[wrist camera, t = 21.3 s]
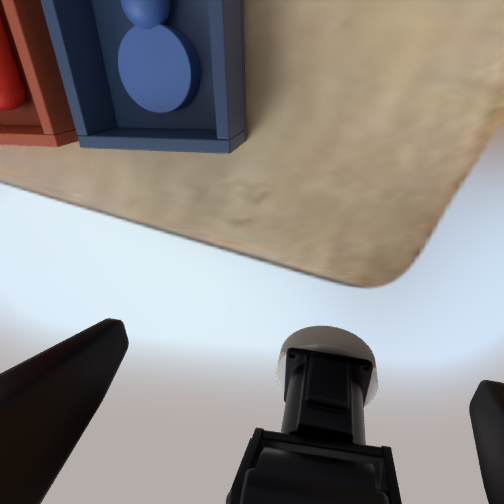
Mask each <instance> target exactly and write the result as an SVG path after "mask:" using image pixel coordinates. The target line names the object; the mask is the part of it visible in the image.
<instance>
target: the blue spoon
mask: <svg viewBox="0 0 504 504" xmlns="http://www.w3.org/2000/svg"><path fill="white" fill-rule="evenodd" d="M120 1H121V5H122V8H123V10H124V12H125V14H126V16H127V17H128V19H129V20H130V21H131V22H132V23H133V24H134V25H135V26H133V27H132V28H131V29H129V31H128V32H127V33H126V34H125V36H124V37H123V39H122V41H121V44H120V47H119V52H118V69H119V74H120V78H121V80H122V83H123V85H124V87H125V89H126V91H127V93H128V94H129V95H130V97H131V98H132V99H133V100H134V101H135V102H136V103H137V104H138V105H140V106H141V107H142V108H144V109H146V110H148V111H151V112H154V113H168V112H172V111H175V110H179V109H181V108H183V107H185V106H187V105H188V104H189V103H190V102H191V101H192V100H193V98H194V97H195V95H196V93H197V91H198V88H199V84H200V76H201V72H200V63H199V59H198V56H197V53H196V51H195V49H194V47H193V45H192V43H191V42H190V41H189V39H188V38H187V37H186V36H185V35H184V34H183V33H182V32H180V31H179V30H178V29H176V28H174V27H172V26H169V25H165V23H166V21H167V19H168V17H169V13H170V0H120Z"/></svg>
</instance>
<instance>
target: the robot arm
mask: <svg viewBox="0 0 504 504" xmlns="http://www.w3.org/2000/svg"><path fill="white" fill-rule="evenodd" d="M128 344H129V342H128V337H127V334H126V330H125V327H124V324H123V322H122V321H121V320H117V319H111V318H108V319H105V320H103V321H101V322H99V323H97V324H95V325H93V326H91V327H89V328H87V329H86V330H84V331H82V332H80V333H78V334H76V335H74V336H72V337H70V338H68V339H66V340H65V341H62V342H61V343H59V344H57V345H55V346H53V347H51V348H49V349H47V350H45V351H43V352H41V353H39V354H37V355H36V356H34V357H32V358H30V359H28V360H26V361H24V362H22V363H20V364H18V365H16V366H14V367H12V368H10V369H9V370H6V371H5V372H3V373H1V374H0V504H41V502H42V500H43V499H44V497H45V495H46V494H47V492H48V490H49V489H50V487H51V485H52V484H53V482H54V480H55V479H56V477H57V475H58V474H59V472H60V470H61V469H62V467H63V465H64V464H65V462H66V461H67V459H68V457H69V456H70V454H71V452H72V451H73V449H74V447H75V446H76V444H77V442H78V441H79V439H80V437H81V436H82V434H83V432H84V431H85V429H86V427H87V426H88V424H89V422H90V421H91V419H92V417H93V416H94V414H95V413H96V411H97V409H98V408H99V406H100V404H101V402H102V401H103V398H104V397H105V395H106V393H107V391H108V389H109V386H110V385H111V382H112V380H113V378H114V376H115V374H116V372H117V370H118V368H119V366H120V364H121V362H122V360H123V358H124V356H125V353H126V351H127V349H128ZM291 353H293V354H291ZM372 371H373V364H372V362H371V361H370V360H367V359H361V358H355V357H349V356H343V355H337V354H330V353H324V352H318V351H312V350H306V349H300V348H294V347H291V348H288V349H287V353H286V367H285V388H284V401H285V403H286V405H285V411H284V417H283V423H282V429H281V433H280V432H273V431H266V430H264V429H262V428H256V429H255V431H254V434H253V437H252V438H250V441H249V443H248V446H247V449H246V451H245V454H244V457H243V459H242V461H241V464H240V467H239V469H238V472H237V475H236V477H235V480H234V482H233V485H232V488H231V490H230V492H229V493H228V495H227V499H226V504H402V503H401V498H400V492H399V487H398V482H397V477H396V471H395V467H394V461H393V457H392V451H391V447H387V446H381V447H375V446H368V445H366V442H365V428H364V427H365V426H364V410H363V408H364V404H365V400H366V396H367V392H368V388H369V384H370V380H371V375H372ZM469 412H470V418H471V423H472V428H473V433H474V438H475V444H476V449H477V454H478V459H479V465H480V470H481V475H482V479H483V484H484V488H485V492H486V495H487V498H488V502H489V504H504V383H501V382H494V381H489V380H483V381H481V382H480V384H479V386H478V388H477V390H476V392H475V394H474V396H473V398H472V400H471V402H470V407H469Z"/></svg>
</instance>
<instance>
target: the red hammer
mask: <svg viewBox="0 0 504 504" xmlns="http://www.w3.org/2000/svg"><path fill="white" fill-rule="evenodd" d="M24 101H25V89H24V86H23V83H22V80H21V77H20V74H19V71H18V68H17V65H16V62H15V59H14V56H13V53H12V50H11V46H10V43H9V40H8V37H7V34H6V31H5V28H4V25H3V22H2V19H1V16H0V110H6V111H8V110H15V109H17V108H19V107H20V106H21V105H22V104H23V103H24Z"/></svg>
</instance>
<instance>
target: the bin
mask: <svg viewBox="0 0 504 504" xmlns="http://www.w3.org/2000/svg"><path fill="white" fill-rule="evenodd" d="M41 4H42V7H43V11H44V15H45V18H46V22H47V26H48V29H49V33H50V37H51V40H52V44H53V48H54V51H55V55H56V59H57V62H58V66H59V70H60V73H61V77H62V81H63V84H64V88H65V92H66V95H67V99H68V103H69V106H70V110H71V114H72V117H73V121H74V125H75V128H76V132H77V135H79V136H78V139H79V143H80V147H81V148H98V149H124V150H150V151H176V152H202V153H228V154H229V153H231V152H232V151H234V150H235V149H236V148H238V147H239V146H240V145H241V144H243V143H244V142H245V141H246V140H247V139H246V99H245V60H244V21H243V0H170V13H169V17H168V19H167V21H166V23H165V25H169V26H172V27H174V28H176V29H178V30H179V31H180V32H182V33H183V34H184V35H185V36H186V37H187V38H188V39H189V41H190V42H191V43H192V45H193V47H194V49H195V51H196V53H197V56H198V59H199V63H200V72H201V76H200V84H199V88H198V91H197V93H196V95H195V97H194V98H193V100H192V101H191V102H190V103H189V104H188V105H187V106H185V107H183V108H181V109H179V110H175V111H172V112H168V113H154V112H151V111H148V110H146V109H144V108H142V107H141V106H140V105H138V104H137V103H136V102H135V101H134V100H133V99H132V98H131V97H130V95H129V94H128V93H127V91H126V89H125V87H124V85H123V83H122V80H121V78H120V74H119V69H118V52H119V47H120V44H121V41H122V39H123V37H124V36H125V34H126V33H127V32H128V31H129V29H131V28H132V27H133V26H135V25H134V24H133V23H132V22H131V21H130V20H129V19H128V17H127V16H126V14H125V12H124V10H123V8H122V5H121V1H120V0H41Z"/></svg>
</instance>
